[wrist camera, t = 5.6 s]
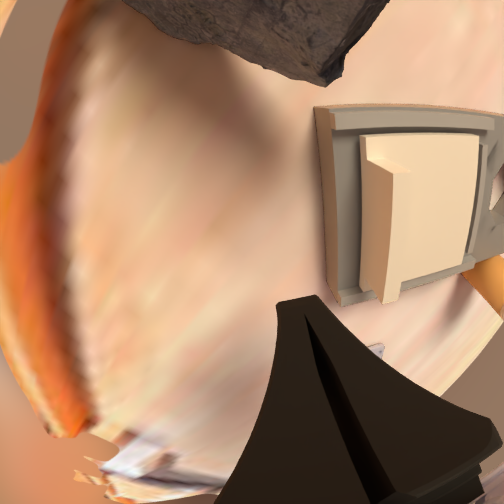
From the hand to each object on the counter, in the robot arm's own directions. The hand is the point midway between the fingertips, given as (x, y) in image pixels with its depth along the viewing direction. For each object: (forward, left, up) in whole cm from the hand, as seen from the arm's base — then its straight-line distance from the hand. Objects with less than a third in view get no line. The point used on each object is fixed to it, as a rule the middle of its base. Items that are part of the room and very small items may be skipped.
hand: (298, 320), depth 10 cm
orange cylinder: (-8, -20, -9) cm, 23 cm away
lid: (0, -9, -6) cm, 11 cm away
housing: (0, -14, -9) cm, 17 cm away
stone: (+13, +1, -9) cm, 16 cm away
